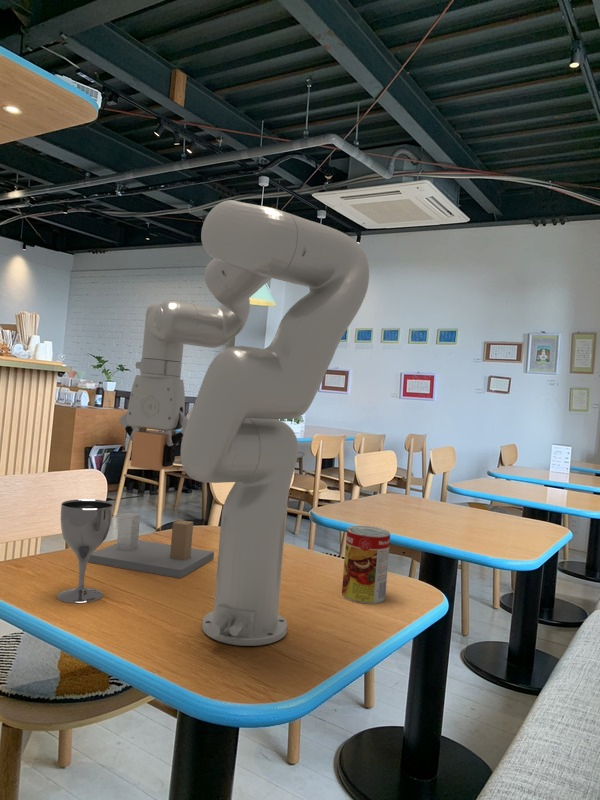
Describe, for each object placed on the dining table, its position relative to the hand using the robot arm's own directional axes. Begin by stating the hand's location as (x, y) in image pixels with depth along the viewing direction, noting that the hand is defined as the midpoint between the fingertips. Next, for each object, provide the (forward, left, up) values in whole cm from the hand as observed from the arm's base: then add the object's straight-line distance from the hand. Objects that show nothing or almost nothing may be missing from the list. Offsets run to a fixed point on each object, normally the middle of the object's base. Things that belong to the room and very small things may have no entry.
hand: (152, 462), depth 113 cm
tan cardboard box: (0, 0, -1) cm, 1 cm away
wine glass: (-18, +1, -21) cm, 27 cm away
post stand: (+6, +1, -20) cm, 21 cm away
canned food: (+5, -42, -21) cm, 47 cm away
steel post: (+6, +7, -19) cm, 21 cm away
